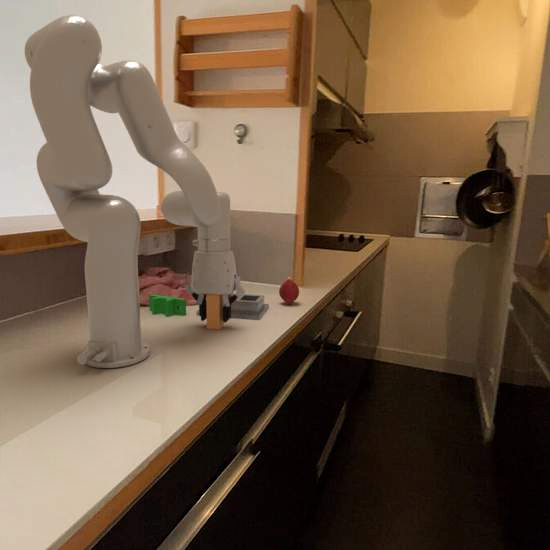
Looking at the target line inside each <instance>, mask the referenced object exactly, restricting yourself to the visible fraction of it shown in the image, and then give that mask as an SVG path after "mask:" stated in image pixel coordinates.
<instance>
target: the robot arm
mask: <svg viewBox="0 0 550 550" xmlns="http://www.w3.org/2000/svg"><path fill="white" fill-rule="evenodd" d="M102 47H103V45H102V40H101V36H100V33H99V32H98V30H97V28H96V27H95V25H94V24H93V23H92V22H91V21H90V20H89V19H87V18H86V17H83V16H80V15H77V14H69V15H63V16H61V17H60V16H59V17H58V18H57V19H54V20H53V21H51V22H49V23H47V24H46V25H44V26H43V27H41V28H39V29H38V30H37V31H35V32H33V34H31V35H29V37H28V38H27V40H26V42H25V45H24V57H25V60H26V63H27V66H29V68H30V69H31V70H30V75H29V92H30V99H31V103H32V106H33V110H34V112H35V116H36V118H37V120H38V122H39V125H40V128H41V131H42V134H43V136H44V137H45V141H46V142H45V143H44V144H42V146H41V147H40V149H39V151H38V152H37V156H36V170H37V175H38V177H39V180H40V182H41V184H42V187H43V188H44V191H45V192H46V195H47V198H48V200H49V201H50V203H51V206H52V207H53V209H54V211H55V214H56V215H57V218H58V220H59V222H60V223H61V225H62V227H63V229H64V230H65V231H66V232H67V234H69V236H71V237H72V238H74V239H76V240H79V241H81V242H85V243H87V244H86V246H87V248H86V251H85V258H84V279H85V280H84V281H85V291H86V292H85V293H86V302H87V303H86V304H87V317H88V331H89V341H88V342H87V345H88V348H86V349H85V350H84V351H83V352H82V353H80V354H78V355H77V357H76V361H77V363H78V364H79V365H82V366H83V365H87V366H90V367H93V368H99V369H115V368H116V369H117V368H122V367H127V366H131V365H135V364H137V363H139V362H142V361H144V360H145V359H147V358H148V357H149V355H150V353H151V348H150V346H149V344H148V343H147V342H144V341H142V327H141V325H142V324H141V308H140V307H141V306H140V289H139V288H140V285H139V269H138V268H139V267H138V265H139V264H138V261H139V259H138V255H139V254H138V252H139V242H140V238H141V237H140V236H141V228H142V227H141V225H142V224H141V218H140V214H139V212H138V210H137V209H136V207H135V205H133V204H132V203H131V202H130V201H129V200H127V199H125V198H124V197H121V196H118V195H114V194H102V193H101V194H100V191H99V189H102V188H103V187H105V186H106V185H107V184H109V183H110V180H111V179H112V176H113V165H112V161H111V157H110V155H109V153H108V151H107V149H106V144H105V142H104V140H103V138H102V135H101V132H100V131H99V128H98V125H97V122H96V120H95V117H94V115H93V111H92V108H94V109H97V110H99V111H100V112H104V113H107V114H118V115H119V116H120V119H121V121H122V123H123V125H124V126H125V129H126V130H127V131H126V132H128V135H129V137H130V139H131V142H132V143H133V145H134V147H135V149H136V152H137V154H139V156H140V157H142V159H144V160H145V161H147V162H149V163H150V164H152V165H154V166H155V167H157V168H159V169H160V170H162V171H164V172H165V174H167V175H168V176H170V178H172V180H174V181H175V183H176V184H177V185H178V187H179V188H180V190H174V191H172V192H170V193H168V194H166V195H165V196H164V197H163V199H162V201H161V203H160V211H161V214H162V217H163V218H164V219H165V220H166V221H167V222H169V223H171V224H174V225H176V226H182V227H183V226H185V227H196V228H197V238H196V239H193V240H192V244H191V245H193V246H194V247H195V246H196V247H197V250H195V251H194V253H193V259H192V267H191V281H189V283H188V284H187V286H186V287H185V291H186V292H187V294H189V295H191V297H192V298H193V300H194V301H196V303H197V305H198V310H199V315H198V316H199V317H200V321H202V322H204V321H205V320H207V305H206V294H210V295H222V296H223V300H224V303H225V304H224V306H223V322H224V324H225V323H226V324H227V322H228V321H229V320H230V319H232V318H231V304H232V303H233V302H234V301H235V300H236V299H238V298H239V297H240V296H242V295H243V294H245V293H246V291H245V289H244V288H243V286H242V285H241V283H239V282H238V281H237V276H238V275H237V274H238V273H237V268H236V267H237V266H236V260H235V255H234V251H233V250H231V249H232V248H231V198H230V197H231V196H230V195H229V194H228V193H227V192H224V191H223V192H221V191H217V189H216V187H215V184H214V182H213V179H212V176H211V175H210V173H209V171H208V169H207V167H206V166H205V165H204V164H203V163H202V162H201V161H200V159H199V158H198V157H197V156H196V155H195V154H194V153H193V152H192V150H191V149H190V148H189V147H188V146H187V145H186V144H184V142H182V141H181V139H180V138H179V136H178V134H177V132H176V130H175V128H174V125H173V123H172V120H171V118H170V116H169V113H168V111H167V109H166V106H165V104H164V102H163V99H162V97H161V94H160V92H159V89H158V86H157V85H156V82H155V79H153V76H152V74H151V72H150V70H149V69H148V68H147V67H146V66H145V65H144V64H142V63H141V62H138V61H136V60H131V59H130V60H121V61H116V62H113V63H111V64H109V65H108V64H107V65H105V64H103V63H101V59H102V53H103V48H102ZM91 107H92V108H91ZM234 291H236V293H234ZM232 292H233V294H234V295H233V296H231V293H232Z"/></svg>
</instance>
